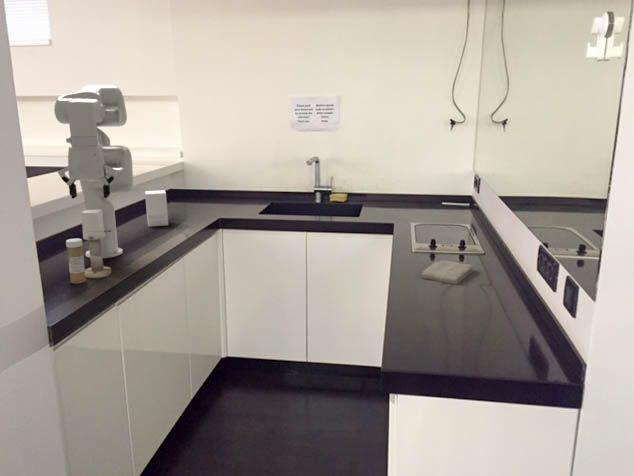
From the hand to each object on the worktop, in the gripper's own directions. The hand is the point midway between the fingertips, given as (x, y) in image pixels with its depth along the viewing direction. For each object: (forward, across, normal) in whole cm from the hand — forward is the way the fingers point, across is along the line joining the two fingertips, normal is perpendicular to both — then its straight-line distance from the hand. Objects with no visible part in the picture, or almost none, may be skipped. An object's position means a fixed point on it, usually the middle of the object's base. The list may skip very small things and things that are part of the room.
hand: (90, 197), depth 167 cm
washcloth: (+25, +114, -13) cm, 117 cm away
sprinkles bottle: (+25, -4, -8) cm, 27 cm away
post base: (+25, 0, -1) cm, 25 cm away
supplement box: (+27, +7, +73) cm, 78 cm away
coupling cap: (+13, +1, -1) cm, 13 cm away
